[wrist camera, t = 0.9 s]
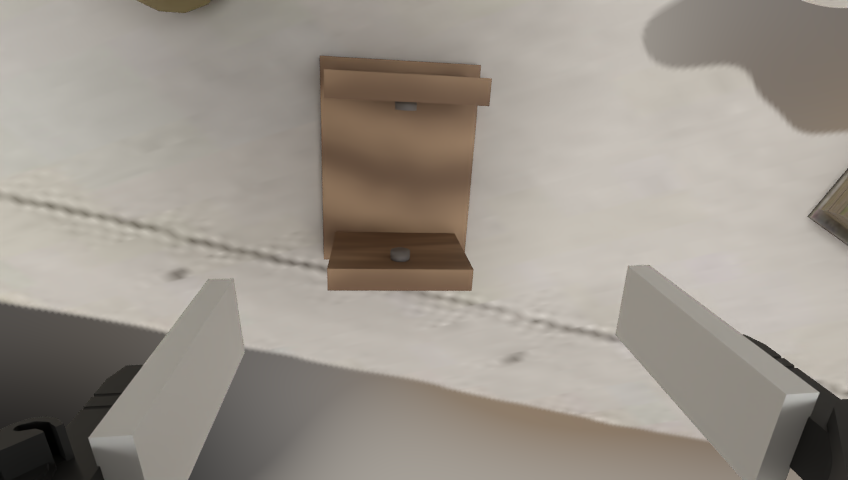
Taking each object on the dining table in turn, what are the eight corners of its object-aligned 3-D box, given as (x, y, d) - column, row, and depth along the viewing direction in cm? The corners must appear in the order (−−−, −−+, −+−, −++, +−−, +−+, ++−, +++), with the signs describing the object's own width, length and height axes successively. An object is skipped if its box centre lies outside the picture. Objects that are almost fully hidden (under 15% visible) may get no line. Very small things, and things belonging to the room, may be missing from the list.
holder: (321, 56, 35) (305, 51, 27) (477, 65, 36) (509, 63, 28) (325, 254, 40) (313, 302, 32) (461, 255, 42) (484, 302, 33)
